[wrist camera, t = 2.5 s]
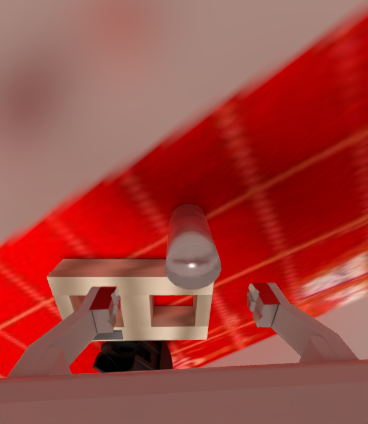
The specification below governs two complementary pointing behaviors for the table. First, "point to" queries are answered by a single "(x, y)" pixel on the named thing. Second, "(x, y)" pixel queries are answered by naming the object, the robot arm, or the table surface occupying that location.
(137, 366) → the end cap
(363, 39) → the table surface
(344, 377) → the robot arm
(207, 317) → the beige rectangular frame
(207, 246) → the metal pin
